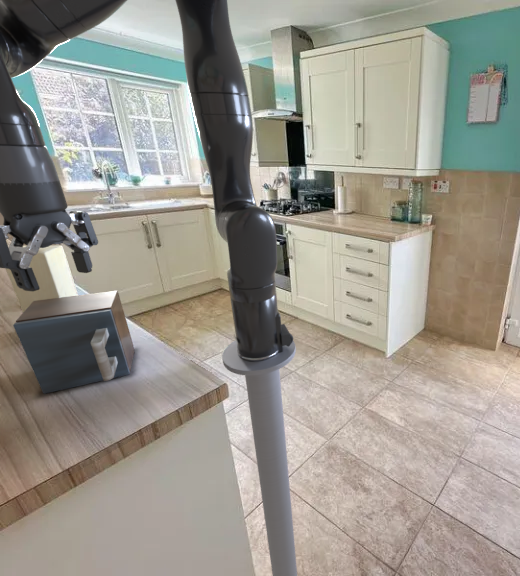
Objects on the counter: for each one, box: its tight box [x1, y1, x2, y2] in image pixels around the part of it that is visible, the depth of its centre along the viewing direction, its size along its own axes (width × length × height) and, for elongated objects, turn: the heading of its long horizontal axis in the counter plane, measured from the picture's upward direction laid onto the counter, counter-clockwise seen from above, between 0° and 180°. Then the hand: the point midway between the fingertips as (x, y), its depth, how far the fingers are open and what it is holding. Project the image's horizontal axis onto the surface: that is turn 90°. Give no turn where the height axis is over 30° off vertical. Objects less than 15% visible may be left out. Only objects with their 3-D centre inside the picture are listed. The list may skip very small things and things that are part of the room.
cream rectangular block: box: [4, 244, 79, 313], centre depth 77 cm, size 8×7×21 cm
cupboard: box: [15, 290, 136, 371], centre depth 66 cm, size 9×13×15 cm
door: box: [12, 309, 131, 395], centre depth 59 cm, size 7×13×15 cm, turn 120°
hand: (60, 280), depth 54 cm, fingers open, 8 cm apart
